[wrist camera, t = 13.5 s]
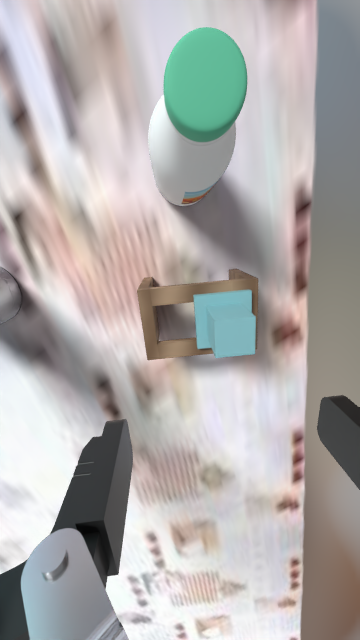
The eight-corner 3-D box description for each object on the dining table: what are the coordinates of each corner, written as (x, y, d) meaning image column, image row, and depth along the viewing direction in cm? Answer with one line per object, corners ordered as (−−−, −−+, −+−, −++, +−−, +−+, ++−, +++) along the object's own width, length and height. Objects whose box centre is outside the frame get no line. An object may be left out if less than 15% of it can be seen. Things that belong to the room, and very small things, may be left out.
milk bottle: (159, 210, 33) (147, 173, 14) (149, 144, 30) (119, -12, 11) (214, 202, 33) (278, 155, 14) (209, 136, 30) (279, -33, 11)
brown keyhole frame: (151, 333, 39) (147, 360, 30) (144, 277, 36) (136, 290, 27) (237, 324, 39) (256, 348, 30) (236, 268, 36) (258, 278, 27)
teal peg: (193, 333, 34) (203, 370, 24) (190, 287, 31) (199, 309, 22) (239, 329, 34) (267, 363, 24) (239, 283, 31) (269, 302, 22)
